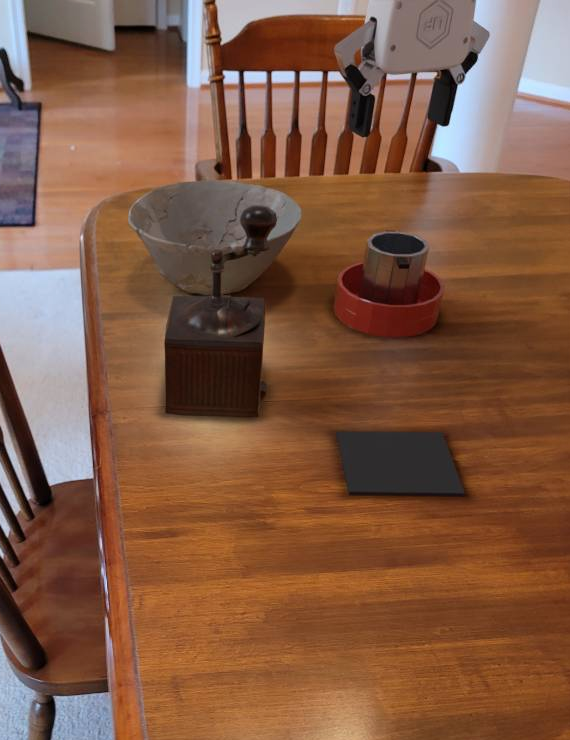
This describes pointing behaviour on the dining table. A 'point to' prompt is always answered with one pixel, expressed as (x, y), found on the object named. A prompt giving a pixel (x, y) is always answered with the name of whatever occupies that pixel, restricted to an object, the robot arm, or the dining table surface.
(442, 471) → the rubber mat
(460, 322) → the dining table surface
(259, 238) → the manual coffee grinder
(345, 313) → the shallow red bowl
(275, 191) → the ceramic bowl
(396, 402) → the dining table surface
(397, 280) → the steel pot
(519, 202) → the dining table surface
